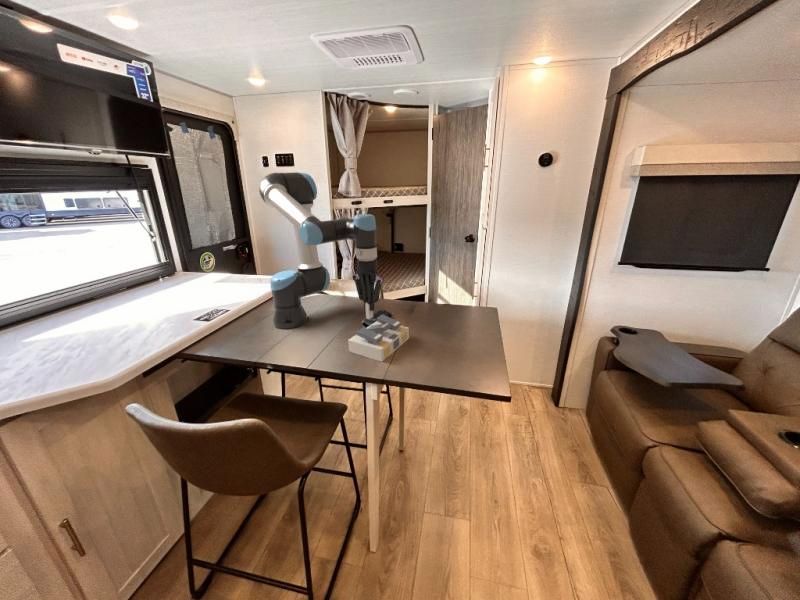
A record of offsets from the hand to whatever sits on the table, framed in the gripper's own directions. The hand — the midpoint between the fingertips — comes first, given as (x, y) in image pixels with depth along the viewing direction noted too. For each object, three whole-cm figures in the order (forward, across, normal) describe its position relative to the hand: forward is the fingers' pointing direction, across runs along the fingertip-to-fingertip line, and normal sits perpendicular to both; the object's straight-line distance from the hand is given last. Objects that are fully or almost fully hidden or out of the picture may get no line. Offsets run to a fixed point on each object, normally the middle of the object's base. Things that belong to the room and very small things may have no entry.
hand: (369, 317), depth 121 cm
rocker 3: (+4, +4, +6) cm, 9 cm away
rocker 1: (+4, +4, -7) cm, 9 cm away
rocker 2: (+4, +4, 0) cm, 6 cm away
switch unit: (+11, +4, 0) cm, 12 cm away
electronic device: (+12, -9, +17) cm, 23 cm away
